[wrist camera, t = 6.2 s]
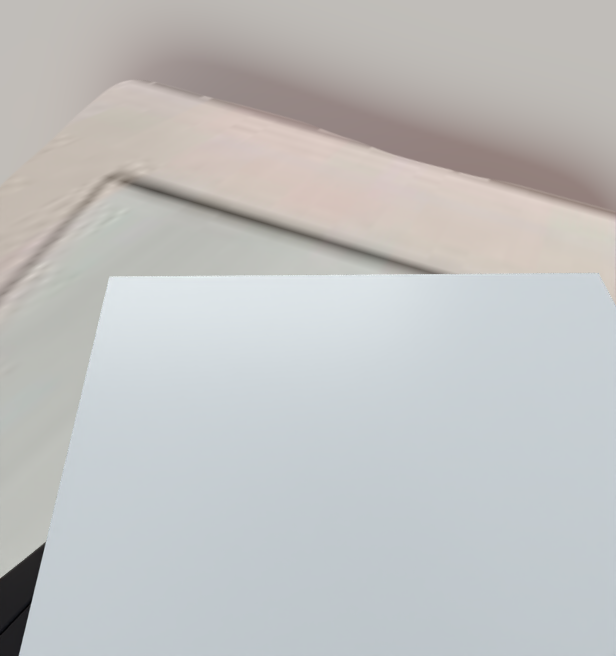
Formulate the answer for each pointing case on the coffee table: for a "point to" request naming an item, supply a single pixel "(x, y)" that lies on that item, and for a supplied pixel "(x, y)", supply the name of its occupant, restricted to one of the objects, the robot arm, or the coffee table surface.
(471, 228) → the coffee table surface
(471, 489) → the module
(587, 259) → the coffee table surface
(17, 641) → the robot arm
